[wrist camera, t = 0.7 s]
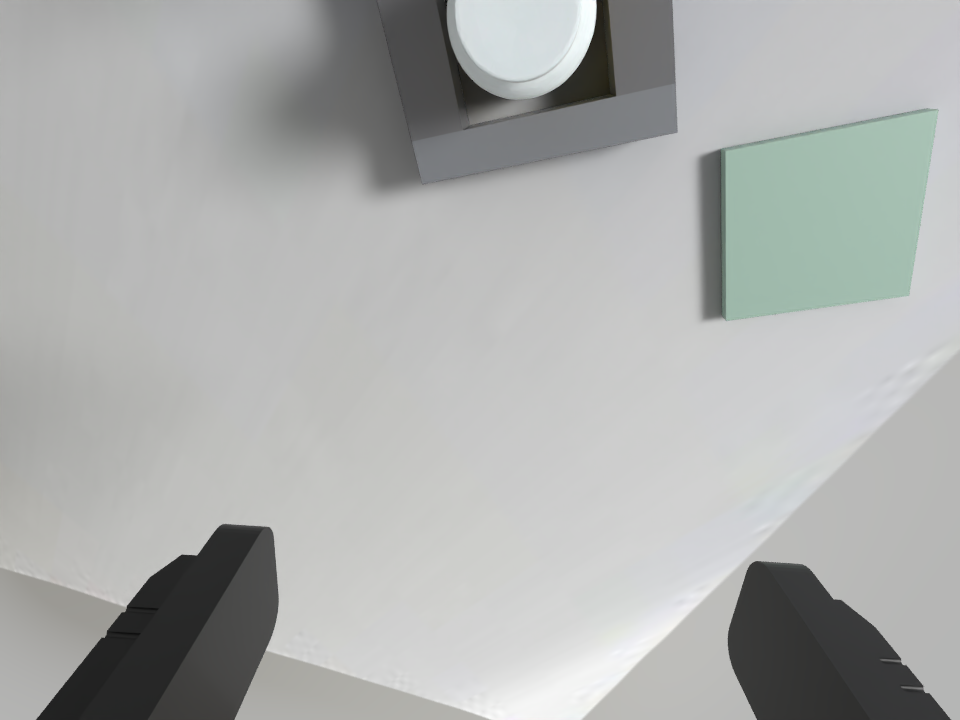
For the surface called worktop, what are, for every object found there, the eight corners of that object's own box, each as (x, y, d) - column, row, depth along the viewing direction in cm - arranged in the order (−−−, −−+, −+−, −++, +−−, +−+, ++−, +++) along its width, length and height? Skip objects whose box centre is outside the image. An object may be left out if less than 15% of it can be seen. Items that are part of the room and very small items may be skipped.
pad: (720, 148, 27) (725, 150, 26) (927, 108, 25) (938, 109, 24) (721, 315, 31) (726, 320, 30) (900, 290, 29) (908, 295, 28)
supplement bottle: (476, -51, 24) (439, -117, 15) (596, -34, 24) (625, -92, 15) (463, 85, 26) (425, 91, 18) (571, 101, 26) (584, 114, 18)
